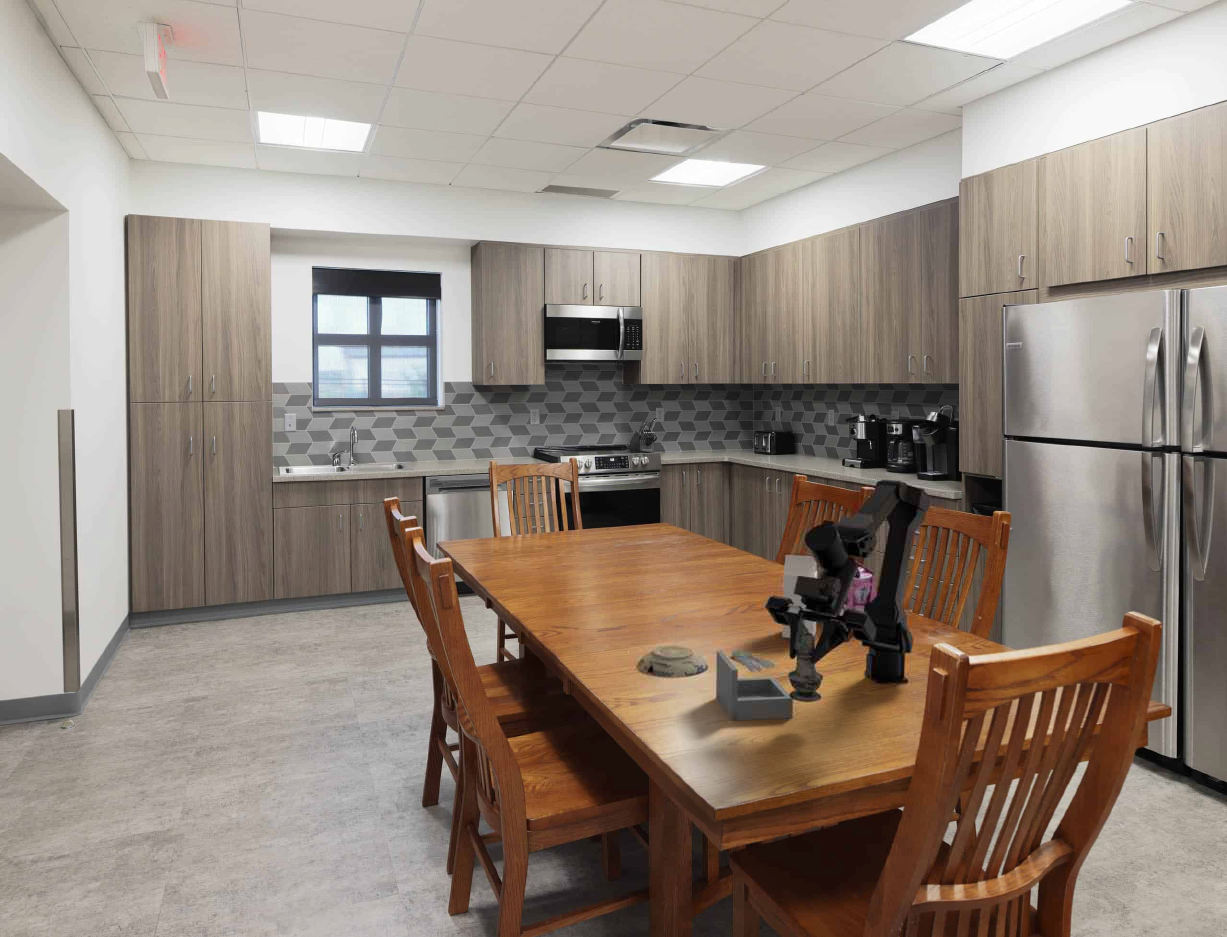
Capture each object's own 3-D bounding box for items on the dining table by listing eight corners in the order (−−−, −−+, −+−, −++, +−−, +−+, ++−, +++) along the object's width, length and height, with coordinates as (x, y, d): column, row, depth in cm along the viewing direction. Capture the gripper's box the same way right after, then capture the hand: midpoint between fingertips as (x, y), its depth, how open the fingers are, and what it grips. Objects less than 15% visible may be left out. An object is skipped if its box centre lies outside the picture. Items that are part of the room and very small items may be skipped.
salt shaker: (829, 700, 138) (830, 630, 137) (798, 704, 137) (799, 633, 136) (811, 688, 144) (812, 621, 143) (781, 692, 142) (782, 624, 141)
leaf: (801, 691, 162) (801, 686, 162) (765, 692, 160) (765, 687, 160) (762, 654, 181) (762, 650, 181) (729, 655, 180) (730, 650, 180)
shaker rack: (773, 695, 156) (773, 648, 155) (792, 717, 145) (793, 667, 144) (716, 697, 155) (716, 651, 154) (731, 720, 144) (732, 670, 143)
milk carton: (813, 640, 191) (815, 559, 189) (782, 638, 193) (783, 558, 191) (816, 632, 197) (817, 554, 196) (785, 629, 200) (787, 552, 198)
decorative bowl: (718, 662, 177) (653, 652, 183) (718, 646, 176) (654, 636, 183) (693, 685, 163) (625, 673, 170) (694, 667, 163) (625, 655, 170)
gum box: (878, 631, 199) (879, 575, 198) (845, 631, 199) (846, 575, 198) (850, 606, 223) (851, 556, 222) (820, 606, 223) (821, 556, 222)
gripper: (771, 550, 147) (736, 624, 140) (870, 564, 135) (837, 646, 128) (792, 586, 154) (760, 658, 147) (889, 602, 141) (859, 682, 134)
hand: (801, 660), depth 139 cm, fingers closed on salt shaker, 4 cm apart
